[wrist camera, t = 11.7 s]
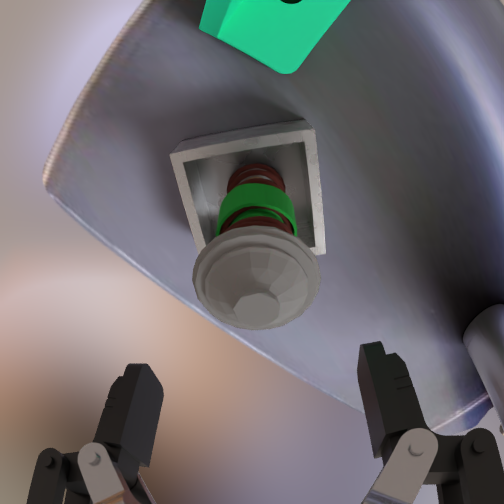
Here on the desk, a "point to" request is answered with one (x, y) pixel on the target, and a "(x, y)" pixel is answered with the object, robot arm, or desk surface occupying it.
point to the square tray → (244, 153)
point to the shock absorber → (256, 256)
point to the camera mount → (271, 28)
